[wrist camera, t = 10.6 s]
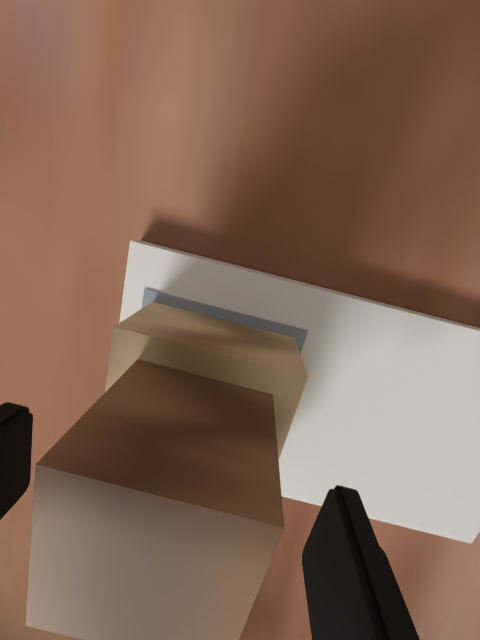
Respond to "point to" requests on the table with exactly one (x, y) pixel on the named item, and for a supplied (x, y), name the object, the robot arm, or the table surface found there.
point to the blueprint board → (350, 387)
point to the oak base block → (213, 354)
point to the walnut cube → (157, 511)
